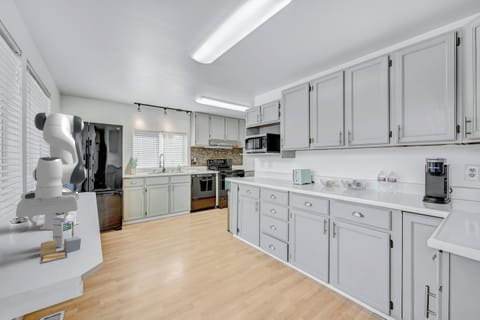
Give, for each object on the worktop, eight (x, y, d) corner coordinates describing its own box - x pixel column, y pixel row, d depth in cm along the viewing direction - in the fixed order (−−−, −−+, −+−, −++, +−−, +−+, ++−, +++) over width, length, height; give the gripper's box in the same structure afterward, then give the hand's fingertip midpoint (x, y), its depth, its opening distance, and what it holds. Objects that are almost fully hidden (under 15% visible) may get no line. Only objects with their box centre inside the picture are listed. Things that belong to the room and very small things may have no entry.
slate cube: (63, 249, 96) (64, 238, 96) (76, 246, 100) (77, 236, 100) (66, 252, 93) (67, 241, 93) (80, 249, 97) (80, 238, 97)
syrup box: (62, 248, 99) (62, 217, 99) (52, 247, 100) (52, 216, 100) (73, 243, 104) (74, 214, 104) (64, 242, 105) (64, 213, 106)
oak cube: (41, 253, 93) (41, 242, 93) (56, 250, 96) (56, 239, 96) (40, 257, 89) (40, 245, 89) (56, 253, 92) (56, 242, 93)
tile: (41, 257, 89) (41, 255, 89) (66, 251, 95) (66, 250, 95) (39, 264, 83) (39, 263, 83) (67, 258, 88) (67, 256, 88)
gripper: (78, 190, 102) (78, 218, 102) (17, 194, 89) (17, 227, 88) (79, 191, 97) (78, 221, 97) (15, 195, 84) (14, 230, 84)
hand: (49, 224), depth 93 cm, fingers open, 8 cm apart
